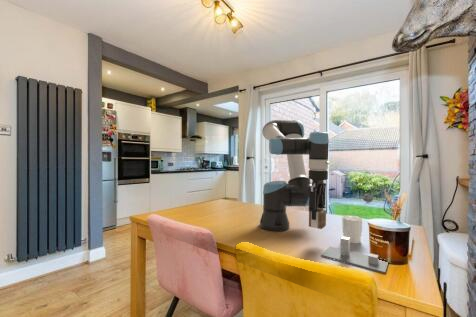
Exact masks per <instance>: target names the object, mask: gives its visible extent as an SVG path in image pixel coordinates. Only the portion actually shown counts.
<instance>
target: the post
mask: <svg viewBox="0 0 476 317" xmlns="http://www.w3.org/2000/svg"><path fill="white" fill-rule="evenodd" d="M340 249H341V253H340V256H344V257H349V256H350V251H351V243H350V238H349V237H344V236H343V235H342V236H341V237H340Z"/></svg>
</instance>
